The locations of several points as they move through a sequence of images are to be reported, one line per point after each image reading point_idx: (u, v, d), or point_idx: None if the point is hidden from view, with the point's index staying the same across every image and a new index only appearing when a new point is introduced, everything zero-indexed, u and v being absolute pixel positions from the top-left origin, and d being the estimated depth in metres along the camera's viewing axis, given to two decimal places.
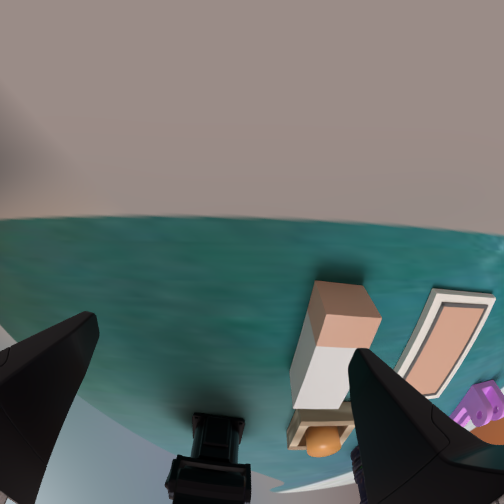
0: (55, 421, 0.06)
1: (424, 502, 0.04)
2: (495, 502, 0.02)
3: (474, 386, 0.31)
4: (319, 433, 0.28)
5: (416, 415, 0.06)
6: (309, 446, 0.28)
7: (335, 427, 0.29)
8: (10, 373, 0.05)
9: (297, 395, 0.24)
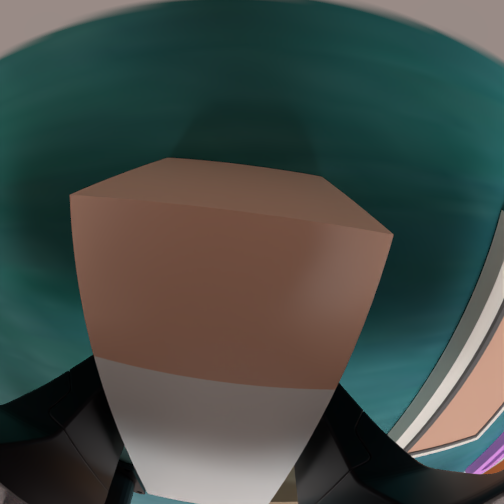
0: (118, 444, 0.06)
1: None
2: None
3: None
4: None
5: (337, 422, 0.06)
6: None
7: None
8: (78, 403, 0.05)
9: None
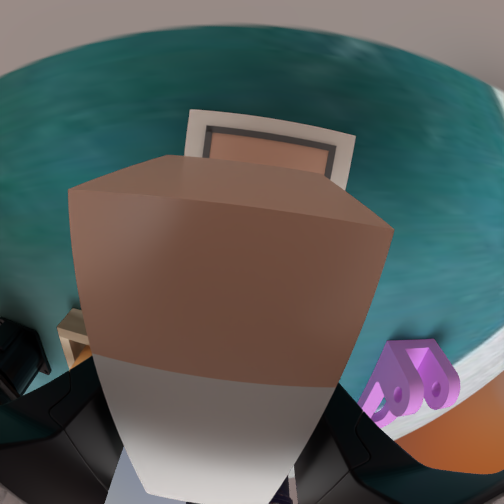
0: (118, 444, 0.06)
1: None
2: None
3: (390, 343, 0.23)
4: (82, 354, 0.20)
5: (337, 422, 0.06)
6: None
7: None
8: (78, 403, 0.05)
9: None
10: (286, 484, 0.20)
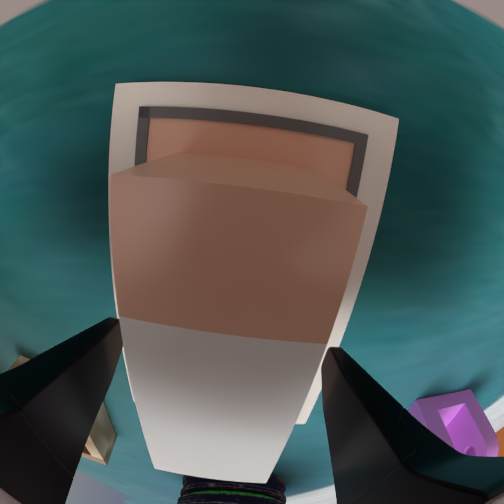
0: (82, 432, 0.06)
1: None
2: None
3: (420, 403, 0.15)
4: None
5: (383, 419, 0.06)
6: None
7: None
8: (38, 387, 0.05)
9: None
10: None
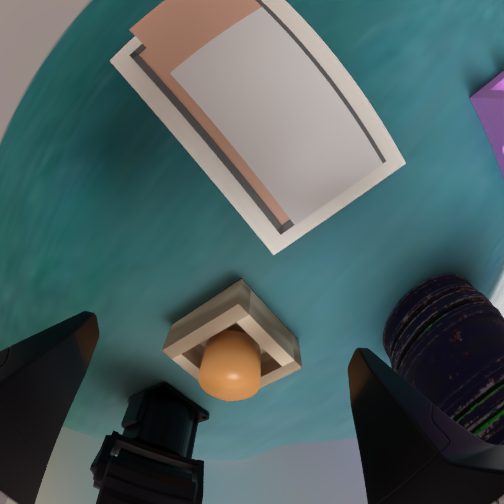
0: (55, 421, 0.06)
1: (424, 502, 0.04)
2: (495, 502, 0.02)
3: (474, 96, 0.14)
4: (202, 358, 0.19)
5: (416, 415, 0.06)
6: None
7: (231, 336, 0.19)
8: (10, 373, 0.05)
9: (268, 189, 0.12)
10: None
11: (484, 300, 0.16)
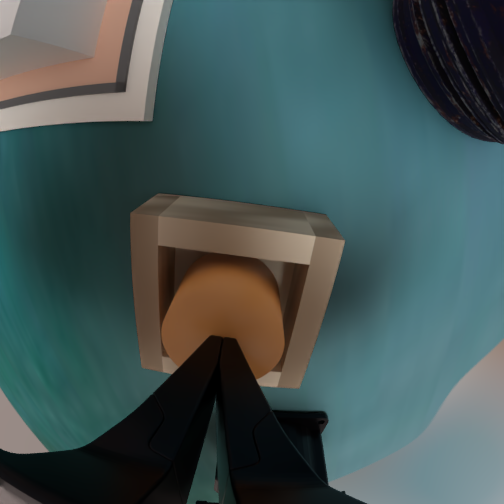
0: (196, 462, 0.06)
1: None
2: None
3: None
4: None
5: (235, 418, 0.05)
6: None
7: (189, 270, 0.11)
8: (174, 429, 0.05)
9: None
10: None
11: None
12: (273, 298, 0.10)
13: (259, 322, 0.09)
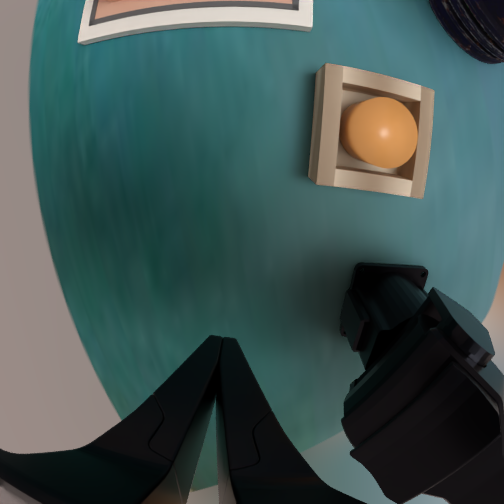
0: (196, 462, 0.06)
1: None
2: None
3: None
4: (348, 143, 0.15)
5: (235, 418, 0.05)
6: (373, 164, 0.15)
7: (349, 108, 0.15)
8: (174, 429, 0.05)
9: None
10: None
11: None
12: None
13: (405, 117, 0.13)
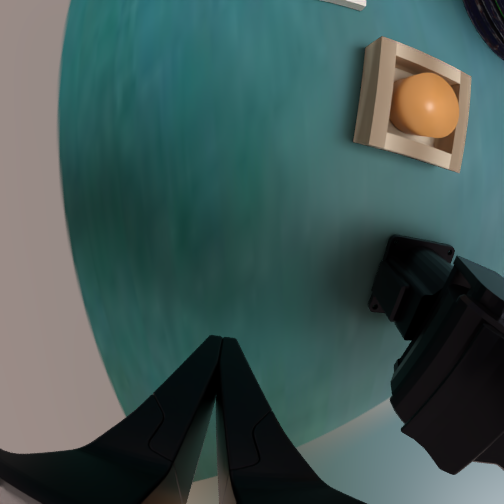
0: (196, 462, 0.06)
1: None
2: None
3: None
4: (397, 111, 0.15)
5: (235, 418, 0.05)
6: (421, 132, 0.14)
7: (397, 81, 0.15)
8: (174, 429, 0.05)
9: None
10: None
11: None
12: None
13: (449, 94, 0.13)
